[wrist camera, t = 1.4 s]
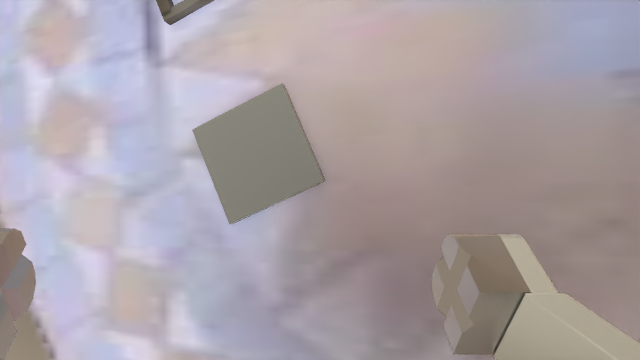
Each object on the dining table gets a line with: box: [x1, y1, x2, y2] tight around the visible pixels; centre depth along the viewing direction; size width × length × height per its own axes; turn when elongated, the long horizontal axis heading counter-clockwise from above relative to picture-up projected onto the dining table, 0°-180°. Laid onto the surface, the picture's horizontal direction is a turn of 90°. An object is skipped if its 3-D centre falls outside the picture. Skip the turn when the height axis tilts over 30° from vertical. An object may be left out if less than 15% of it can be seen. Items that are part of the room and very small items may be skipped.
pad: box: [193, 84, 325, 224], centre depth 43 cm, size 9×9×1 cm
